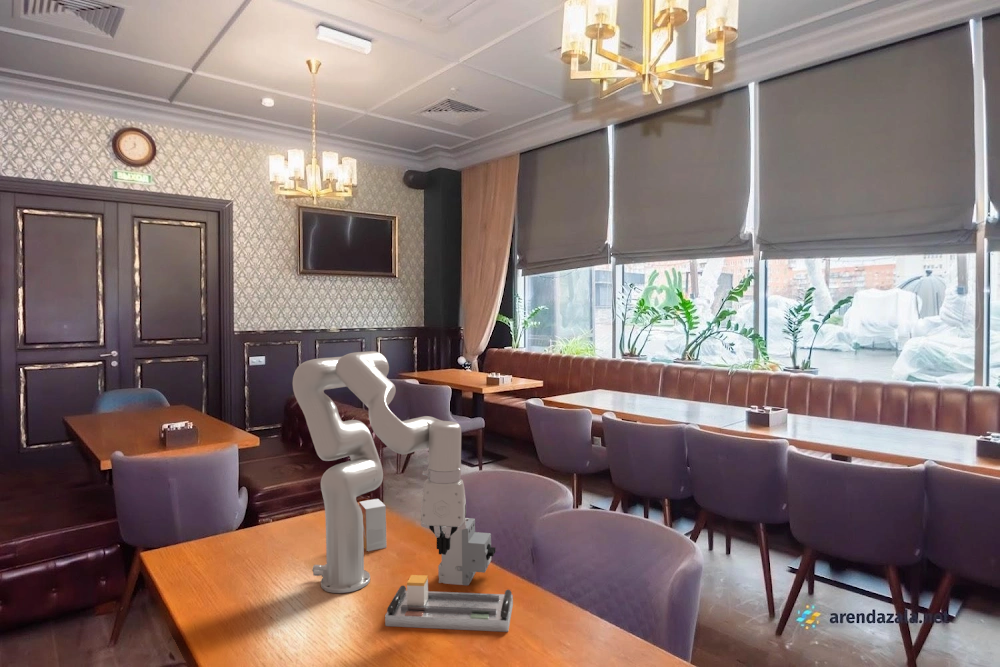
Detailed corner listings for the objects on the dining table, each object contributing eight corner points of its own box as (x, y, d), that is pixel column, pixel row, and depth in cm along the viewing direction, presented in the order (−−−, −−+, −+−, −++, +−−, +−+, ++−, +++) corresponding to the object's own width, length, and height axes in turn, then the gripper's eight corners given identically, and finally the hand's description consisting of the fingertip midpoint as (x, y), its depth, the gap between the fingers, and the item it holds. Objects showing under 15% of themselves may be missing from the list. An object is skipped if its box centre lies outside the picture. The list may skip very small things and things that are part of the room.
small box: (359, 542, 180) (358, 501, 180) (379, 539, 183) (378, 498, 183) (366, 552, 173) (365, 508, 173) (387, 547, 176) (386, 505, 176)
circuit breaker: (491, 587, 150) (490, 530, 149) (438, 582, 152) (437, 526, 152) (497, 574, 157) (496, 519, 156) (446, 570, 160) (446, 516, 159)
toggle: (407, 605, 135) (406, 582, 135) (411, 597, 139) (411, 574, 139) (424, 606, 134) (423, 583, 134) (428, 598, 138) (427, 575, 138)
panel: (385, 626, 131) (385, 608, 131) (400, 600, 143) (399, 583, 143) (508, 631, 128) (507, 613, 128) (512, 604, 140) (512, 588, 140)
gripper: (408, 478, 132) (408, 557, 133) (473, 481, 131) (472, 561, 131) (417, 469, 140) (416, 543, 141) (478, 472, 138) (477, 547, 139)
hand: (443, 552), depth 136 cm, fingers closed
